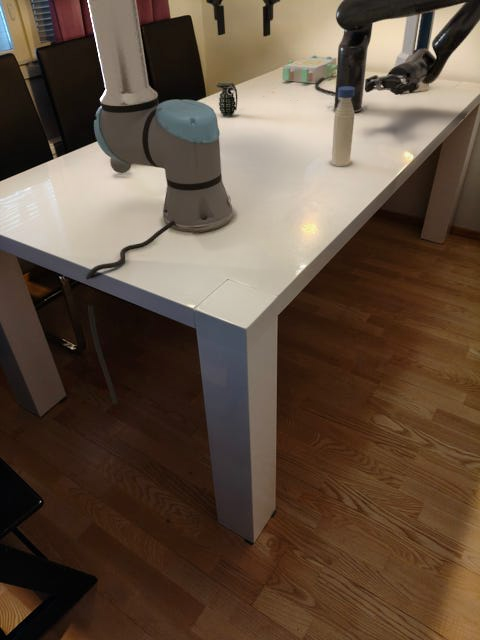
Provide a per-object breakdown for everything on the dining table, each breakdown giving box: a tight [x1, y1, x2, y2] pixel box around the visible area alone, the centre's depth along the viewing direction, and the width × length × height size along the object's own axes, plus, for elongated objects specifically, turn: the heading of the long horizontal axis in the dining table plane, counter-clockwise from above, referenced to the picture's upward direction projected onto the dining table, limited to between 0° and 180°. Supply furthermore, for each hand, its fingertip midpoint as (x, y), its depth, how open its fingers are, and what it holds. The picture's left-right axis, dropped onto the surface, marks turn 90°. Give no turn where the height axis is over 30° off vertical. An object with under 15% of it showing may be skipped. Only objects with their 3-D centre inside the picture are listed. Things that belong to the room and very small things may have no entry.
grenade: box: [215, 82, 238, 117], centre depth 166 cm, size 7×6×10 cm
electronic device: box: [393, 11, 436, 94], centre depth 175 cm, size 12×8×30 cm, turn 105°
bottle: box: [330, 97, 355, 167], centre depth 124 cm, size 5×5×18 cm
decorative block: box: [282, 55, 338, 84], centre depth 207 cm, size 26×6×20 cm
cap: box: [338, 86, 355, 98], centre depth 118 cm, size 4×4×2 cm
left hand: (243, 35), depth 129 cm, fingers open, 13 cm apart
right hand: (381, 89), depth 133 cm, fingers open, 8 cm apart
